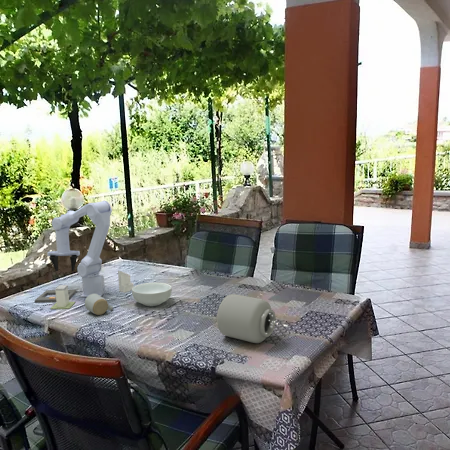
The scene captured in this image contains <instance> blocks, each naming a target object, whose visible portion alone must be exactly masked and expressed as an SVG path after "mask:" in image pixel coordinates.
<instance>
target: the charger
mask: <svg viewBox="0 0 450 450" xmlns="http://www.w3.org/2000/svg"><path fill="white" fill-rule="evenodd" d="M54 290H55V291H56V295H55V297H56V302H55V303H57V307H66V306H67V305H68V304H69V302H70V299H69V294H68V290H69V285H68V284H63V285H62V284H61V285H60V284H59V285H58V286H57V287H56V288H55V289H54Z"/></svg>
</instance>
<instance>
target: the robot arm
mask: <svg viewBox="0 0 450 450" xmlns="http://www.w3.org/2000/svg"><path fill="white" fill-rule="evenodd" d="M112 212H113V209H112V207H111V204H110V202H108V201H107V200H103V201H97V202H89V203H85V204H84V205H83V206H81V207H80V208H79V209H77V210H75V211H74V210H71V209H70V210H67V211H66V213H64V214H61V215H60V216H59V217H54V218H52V220H51V227H52V228H53V229H54V230H55V231H54V232H55V241H56V243H55V245H56V250H52V251H47V257H49V260H50V262H51V263H52V265H53V268H54V271H55V272H59V256H60V257H67V256H70V257H69V260H70V265H71V271H72V272H74V271H75V269H76V268H75V267H76V263H77V261H78V258H79V256H80V255H81V253H80V250H71V247H70V237H69V235H70V234H69V233H70V227H71V226H72V225H74V224H76V223H77V222H79V220H80V218H82V217H84V216H87V217H88V218H89V219H90V221H91V222H92V224H93V225H95V228H94V231H93V234H92V238H91V241H90V244H89V247H88V251H87V254H86V255H85V256H84V257H83V258H82V259H81V261H80V263H79V264H78V265H77V269H76V270H77V273H78V275H79V276H80V278H81V283H82V294H80V298H87V297H88V296H89V295H91V294H98V295H100V296H101V297H103V295H104V293H105V292H106V290H105V289H106V286H105V278H104V275H102V274H100V272H101V271H102V263H103V260H102V258H101V254H102V252H103V251H102V250H103V247H104V244H105V241H106V238H107V235H108V232H109V229H110V226H111V215H112Z"/></svg>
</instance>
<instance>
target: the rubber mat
mask: <svg viewBox="0 0 450 450" xmlns="http://www.w3.org/2000/svg"><path fill="white" fill-rule="evenodd" d="M75 304H76V301H69V304H68V305H67V306H66V307H57V303H56V302H54V304H53V305H52V306H51V307H50V308H49V309H50V310H71V308H72V307H73V306H74V305H75Z"/></svg>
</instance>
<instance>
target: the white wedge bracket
mask: <svg viewBox="0 0 450 450" xmlns="http://www.w3.org/2000/svg"><path fill="white" fill-rule="evenodd" d="M117 276H118V278H117V281H118V292H119V293H124V294H125V293H128V292H132V288H133V287H134V286H135V284H134V282H132V281H131V275H130V274H128V273H126V272H124V271H121V270H118V271H117Z"/></svg>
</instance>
